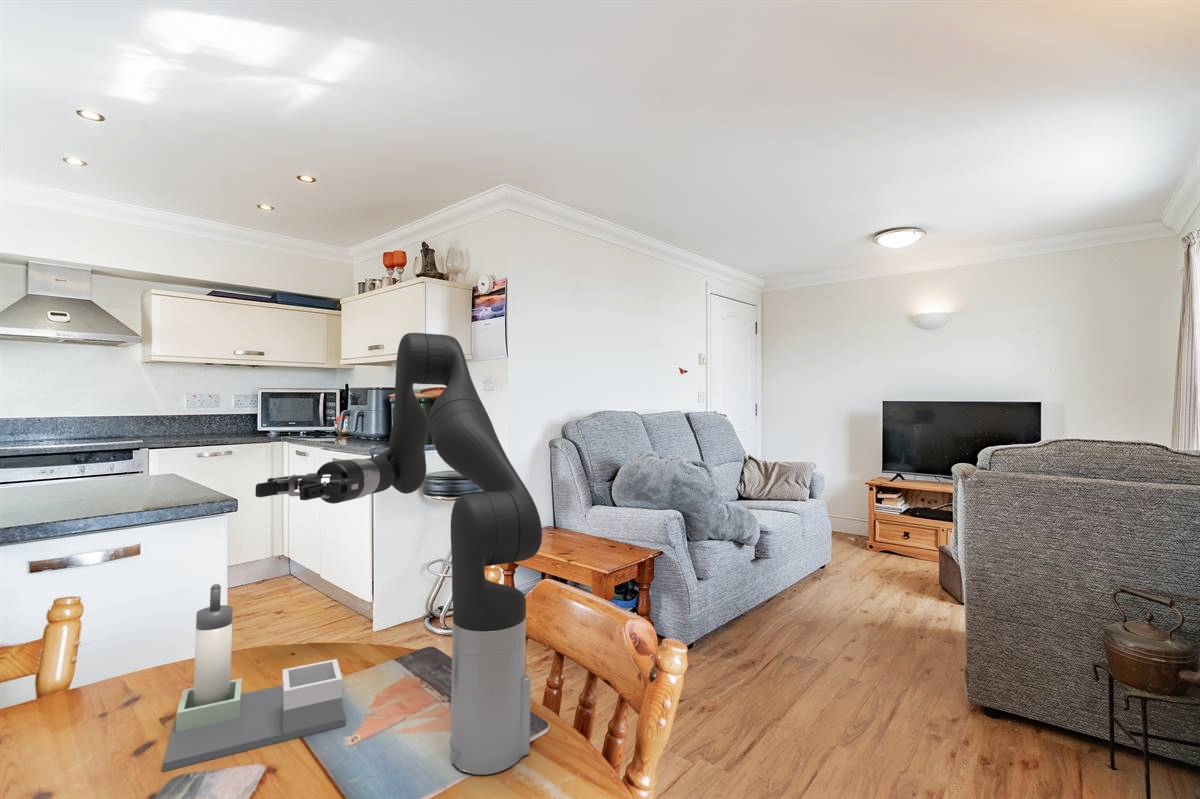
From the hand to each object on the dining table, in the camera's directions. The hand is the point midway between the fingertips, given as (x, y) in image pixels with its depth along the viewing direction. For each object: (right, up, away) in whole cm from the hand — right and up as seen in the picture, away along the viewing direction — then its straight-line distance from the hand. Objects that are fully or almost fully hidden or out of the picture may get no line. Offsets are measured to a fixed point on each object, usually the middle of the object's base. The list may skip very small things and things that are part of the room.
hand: (279, 492), depth 89 cm
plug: (-3, -29, -11) cm, 31 cm away
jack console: (+4, -30, -11) cm, 32 cm away
